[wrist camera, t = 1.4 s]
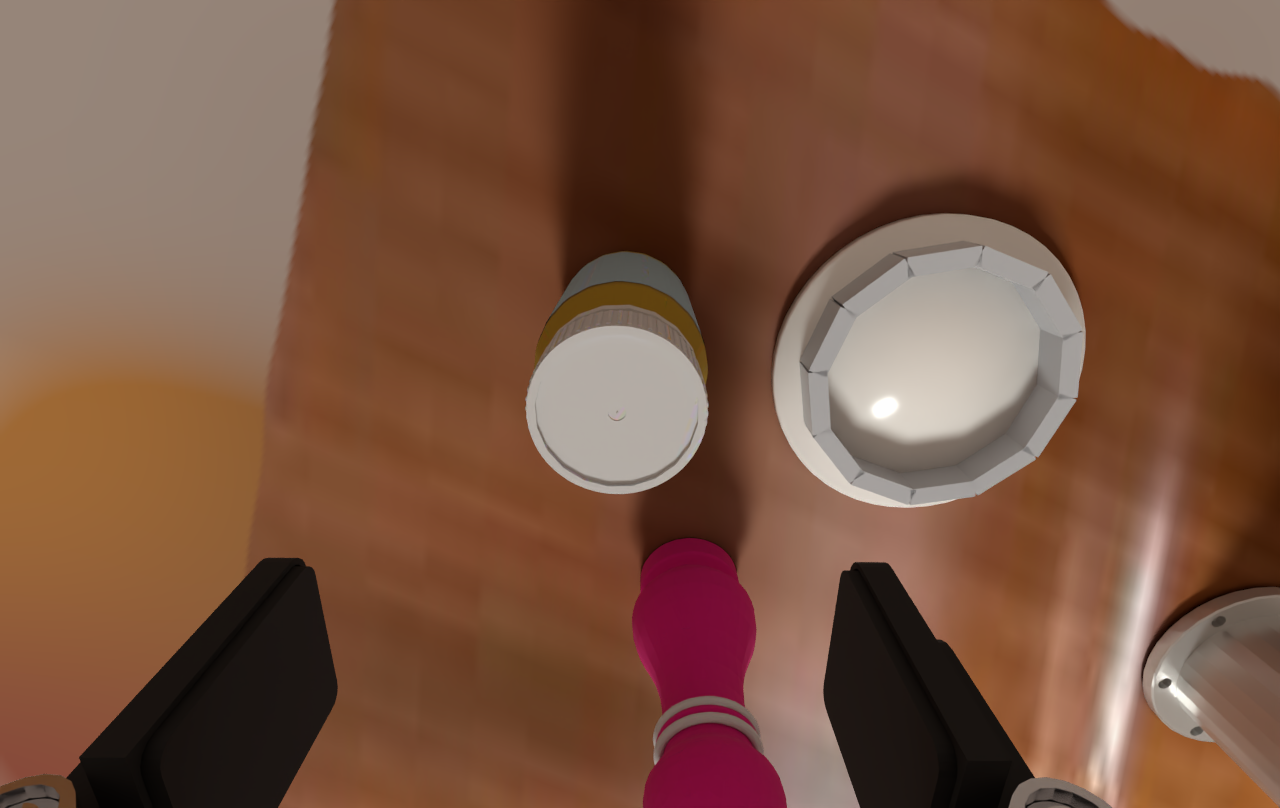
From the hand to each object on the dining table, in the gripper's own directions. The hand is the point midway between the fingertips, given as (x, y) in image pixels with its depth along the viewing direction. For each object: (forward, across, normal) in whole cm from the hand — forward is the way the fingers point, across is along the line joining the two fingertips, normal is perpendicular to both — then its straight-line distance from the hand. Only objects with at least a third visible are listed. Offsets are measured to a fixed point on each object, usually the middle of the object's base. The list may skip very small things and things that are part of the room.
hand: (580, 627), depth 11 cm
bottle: (+26, 0, 0) cm, 26 cm away
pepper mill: (+26, -5, +18) cm, 31 cm away
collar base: (+25, -17, +3) cm, 31 cm away
